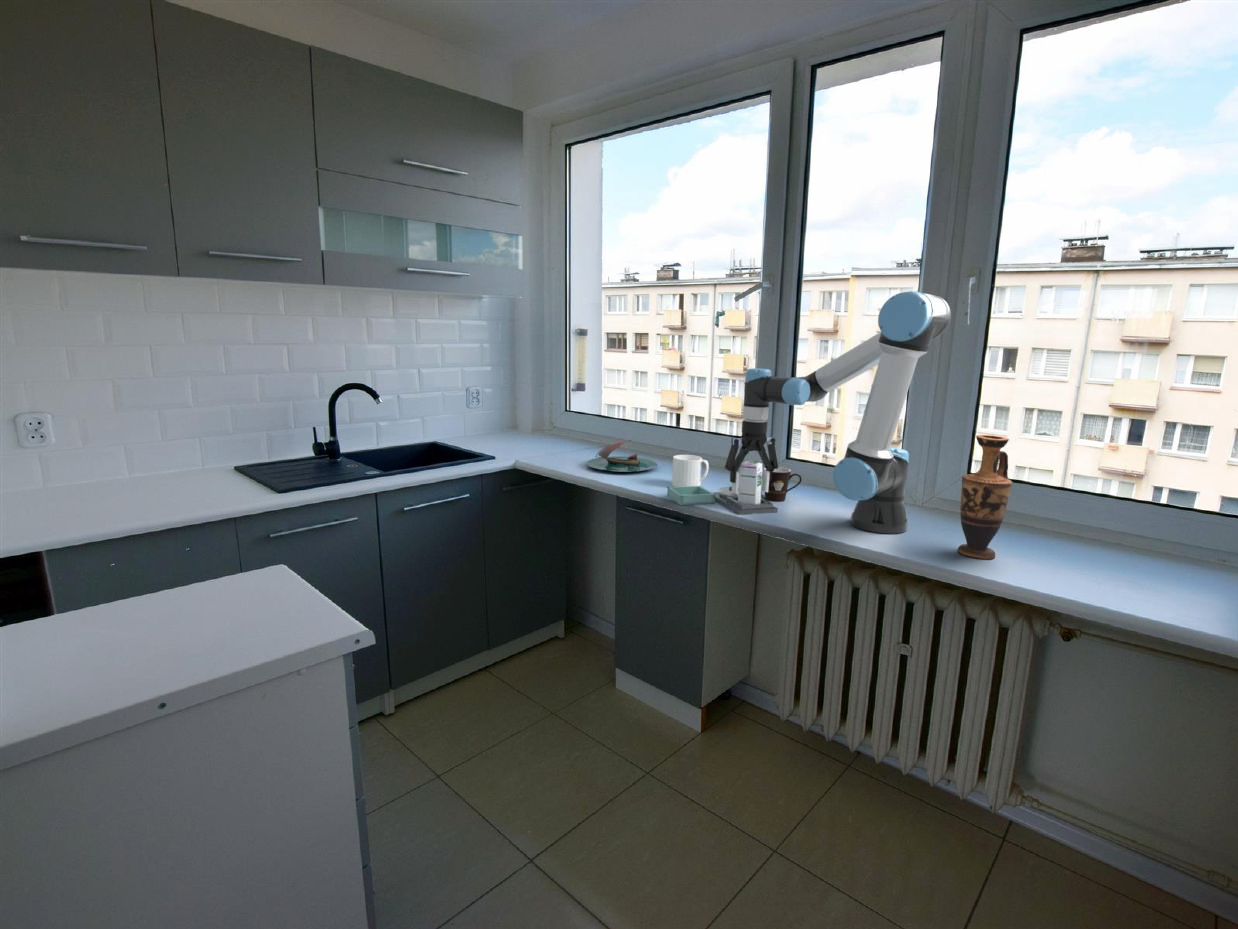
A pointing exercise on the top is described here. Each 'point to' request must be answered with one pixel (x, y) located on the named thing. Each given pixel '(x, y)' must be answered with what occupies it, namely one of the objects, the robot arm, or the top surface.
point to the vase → (985, 498)
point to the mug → (687, 470)
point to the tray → (691, 495)
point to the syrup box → (750, 482)
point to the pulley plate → (731, 502)
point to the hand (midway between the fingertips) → (749, 492)
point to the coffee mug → (779, 484)
